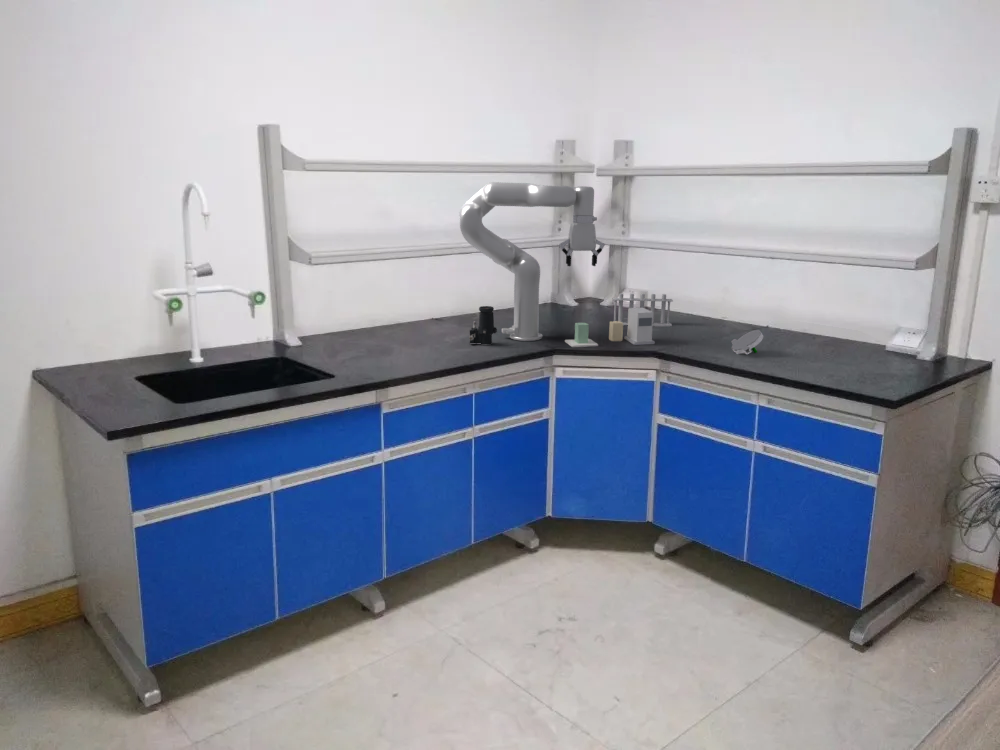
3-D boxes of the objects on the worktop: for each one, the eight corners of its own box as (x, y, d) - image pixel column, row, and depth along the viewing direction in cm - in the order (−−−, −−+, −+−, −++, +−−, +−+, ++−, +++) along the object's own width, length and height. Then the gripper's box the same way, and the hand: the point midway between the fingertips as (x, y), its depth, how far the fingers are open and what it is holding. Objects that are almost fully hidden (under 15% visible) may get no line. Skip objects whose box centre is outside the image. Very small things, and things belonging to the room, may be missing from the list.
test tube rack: (611, 325, 325) (612, 294, 322) (611, 323, 330) (612, 292, 326) (671, 326, 323) (673, 295, 320) (670, 324, 327) (672, 293, 324)
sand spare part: (612, 341, 295) (613, 323, 293) (608, 339, 298) (609, 321, 297) (622, 341, 295) (623, 323, 293) (618, 338, 299) (619, 321, 297)
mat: (572, 347, 284) (572, 345, 284) (564, 341, 294) (564, 339, 294) (598, 346, 286) (598, 344, 286) (589, 340, 296) (589, 338, 296)
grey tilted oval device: (725, 346, 284) (743, 320, 281) (742, 357, 285) (760, 331, 283) (738, 355, 269) (757, 328, 267) (756, 367, 270) (776, 340, 268)
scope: (472, 304, 291) (498, 305, 289) (472, 340, 295) (498, 341, 293) (468, 308, 283) (494, 309, 282) (468, 345, 287) (494, 346, 285)
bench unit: (634, 344, 289) (635, 313, 285) (624, 338, 299) (625, 308, 296) (654, 344, 290) (656, 312, 287) (643, 337, 300) (645, 307, 297)
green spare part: (577, 343, 288) (578, 325, 286) (574, 341, 292) (575, 322, 290) (588, 342, 289) (588, 324, 287) (584, 340, 292) (585, 322, 291)
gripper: (602, 219, 295) (600, 264, 299) (558, 219, 293) (557, 264, 297) (608, 220, 288) (605, 267, 292) (562, 220, 285) (561, 267, 290)
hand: (581, 265), depth 295 cm, fingers open, 9 cm apart
